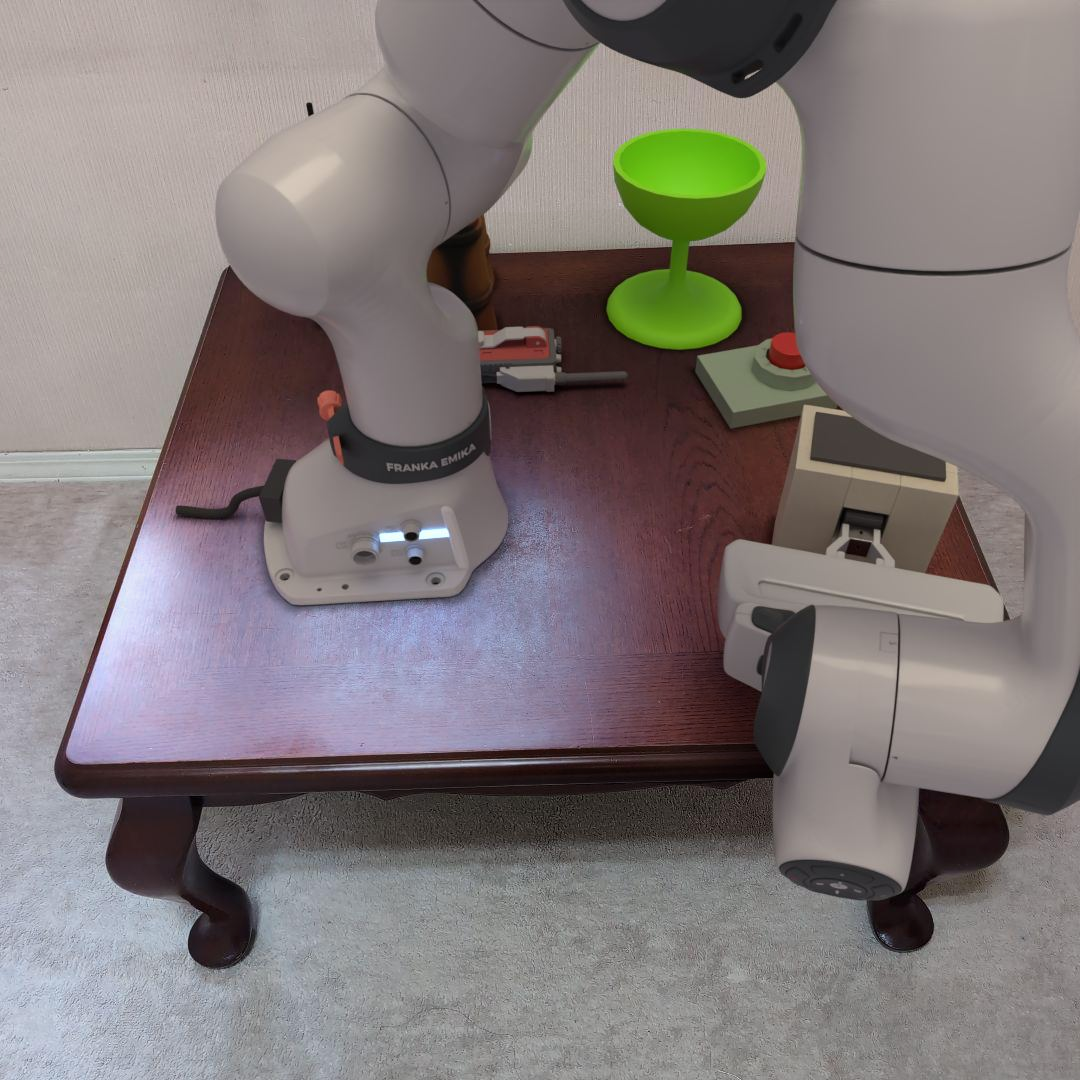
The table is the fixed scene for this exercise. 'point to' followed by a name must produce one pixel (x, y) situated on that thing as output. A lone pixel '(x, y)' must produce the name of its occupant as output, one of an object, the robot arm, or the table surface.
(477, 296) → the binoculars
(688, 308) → the wineglass
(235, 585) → the table surface
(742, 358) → the switch box
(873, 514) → the power button
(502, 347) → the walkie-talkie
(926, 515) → the beige box
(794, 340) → the mains button
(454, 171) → the robot arm
